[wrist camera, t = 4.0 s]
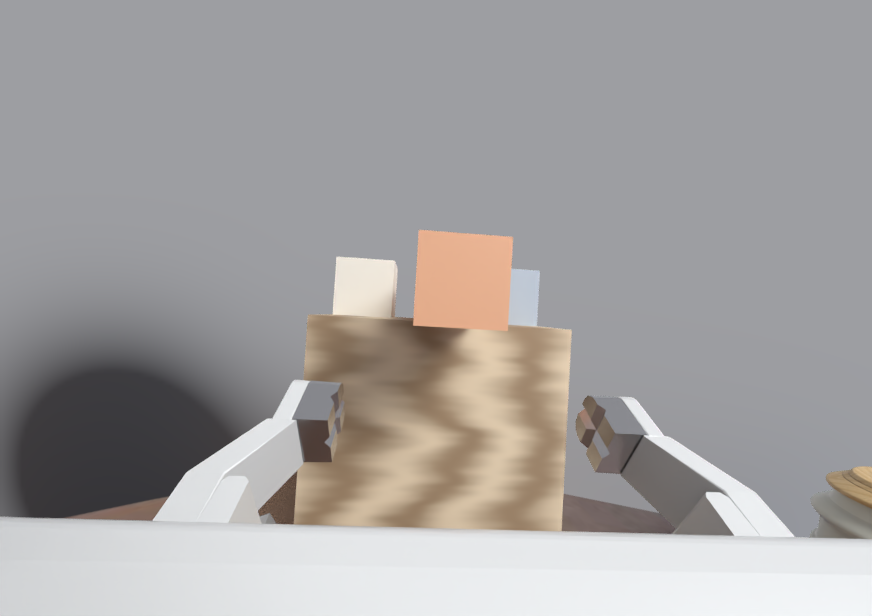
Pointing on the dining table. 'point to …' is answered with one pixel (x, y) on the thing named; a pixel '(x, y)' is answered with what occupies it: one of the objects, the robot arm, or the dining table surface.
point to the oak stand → (439, 425)
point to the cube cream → (365, 287)
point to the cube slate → (523, 297)
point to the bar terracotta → (463, 280)
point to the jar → (845, 505)
